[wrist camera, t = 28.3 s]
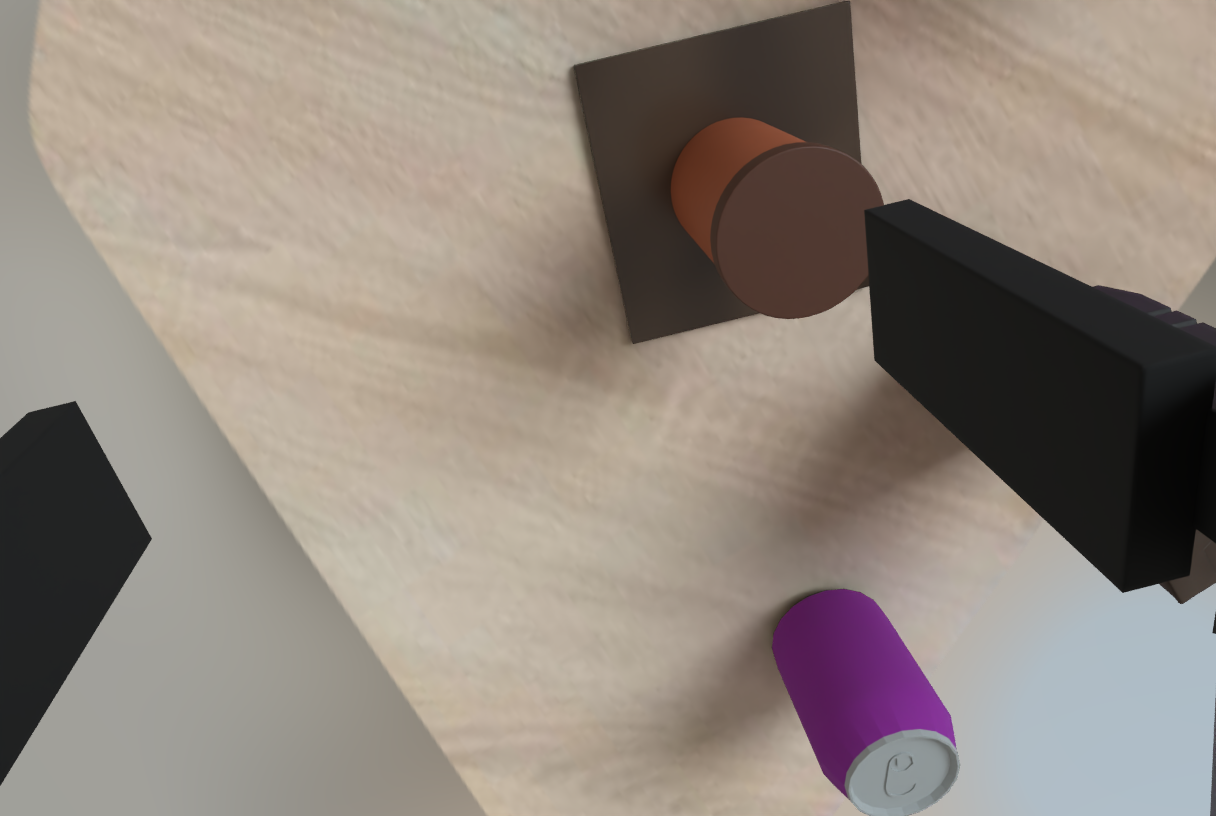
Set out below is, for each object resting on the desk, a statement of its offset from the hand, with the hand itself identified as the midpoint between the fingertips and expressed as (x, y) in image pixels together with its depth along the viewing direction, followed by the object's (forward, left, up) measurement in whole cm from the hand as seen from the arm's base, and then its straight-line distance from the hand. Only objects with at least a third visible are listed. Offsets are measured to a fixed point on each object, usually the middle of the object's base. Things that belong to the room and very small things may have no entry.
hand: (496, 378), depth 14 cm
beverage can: (+13, -35, -29) cm, 47 cm away
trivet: (+11, -5, -29) cm, 31 cm away
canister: (+11, -5, -28) cm, 31 cm away
